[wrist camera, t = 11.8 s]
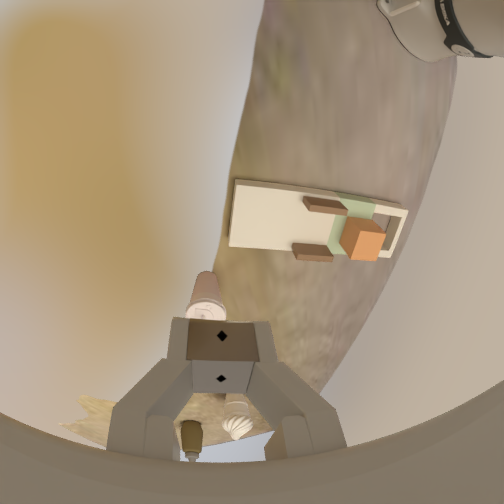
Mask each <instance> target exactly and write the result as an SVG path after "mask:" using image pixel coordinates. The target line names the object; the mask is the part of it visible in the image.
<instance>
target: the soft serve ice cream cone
mask: <svg viewBox="0 0 504 504" xmlns="http://www.w3.org/2000/svg"><path fill="white" fill-rule="evenodd" d="M252 422H253V421H252V420H251V419H250V414H249V410H248V404H247V403H246V400H245V398H244V395H243V394H230V393H226V399H225V405H224V416H223V421H222V427H223V428H224V429H225V430H226V431H228V432H229V433H230V435H231V437H232V438H233V439H234V440H238V439H239V438H240V436H242V435H244V434H245V433H247V432H248V431H249V430H251V428H252V426H253V424H252Z"/></svg>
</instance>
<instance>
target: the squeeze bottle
mask: <svg viewBox="0 0 504 504" xmlns="http://www.w3.org/2000/svg"><path fill="white" fill-rule="evenodd" d="M202 438H203V430H202V428H201V425H200V423H199V422H196V421H185V422H184V423H183V426H182V428H181V439H182V449H183V451H184V452H185V457H186V458H188V459H189V462H195V461H196V459H198V458H199V453H200V452H201V450H202Z"/></svg>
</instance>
